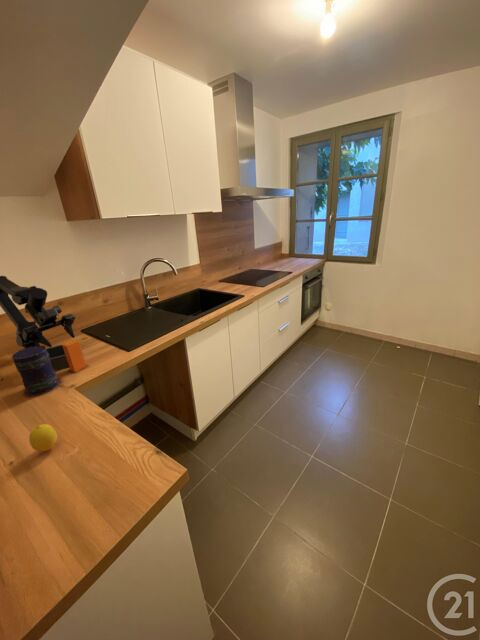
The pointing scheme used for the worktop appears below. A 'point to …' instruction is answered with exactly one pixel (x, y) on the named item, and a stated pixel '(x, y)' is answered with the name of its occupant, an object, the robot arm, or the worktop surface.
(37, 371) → the storage jar
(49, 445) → the lemon
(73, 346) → the block
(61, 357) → the dark grey open box
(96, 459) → the worktop surface
